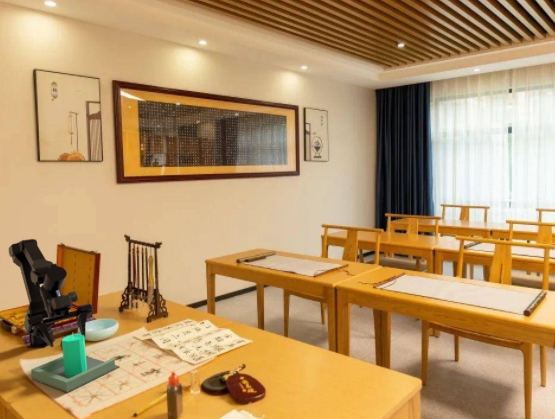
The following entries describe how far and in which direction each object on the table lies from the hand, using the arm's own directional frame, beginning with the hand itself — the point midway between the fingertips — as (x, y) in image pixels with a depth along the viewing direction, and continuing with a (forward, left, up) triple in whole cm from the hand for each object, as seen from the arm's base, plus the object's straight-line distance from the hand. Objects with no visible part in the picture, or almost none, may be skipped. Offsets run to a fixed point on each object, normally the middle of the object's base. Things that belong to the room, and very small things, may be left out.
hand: (68, 341), depth 130 cm
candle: (+3, -3, -8) cm, 9 cm away
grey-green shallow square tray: (+3, -3, -8) cm, 10 cm away
